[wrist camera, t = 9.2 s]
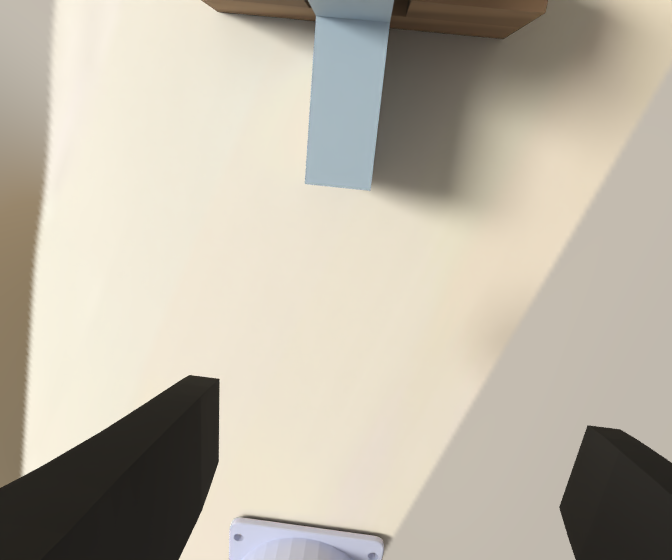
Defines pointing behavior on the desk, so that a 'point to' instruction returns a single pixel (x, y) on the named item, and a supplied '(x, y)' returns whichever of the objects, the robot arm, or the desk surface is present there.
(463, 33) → the brown notched wooden bar
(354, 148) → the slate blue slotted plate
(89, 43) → the desk surface
